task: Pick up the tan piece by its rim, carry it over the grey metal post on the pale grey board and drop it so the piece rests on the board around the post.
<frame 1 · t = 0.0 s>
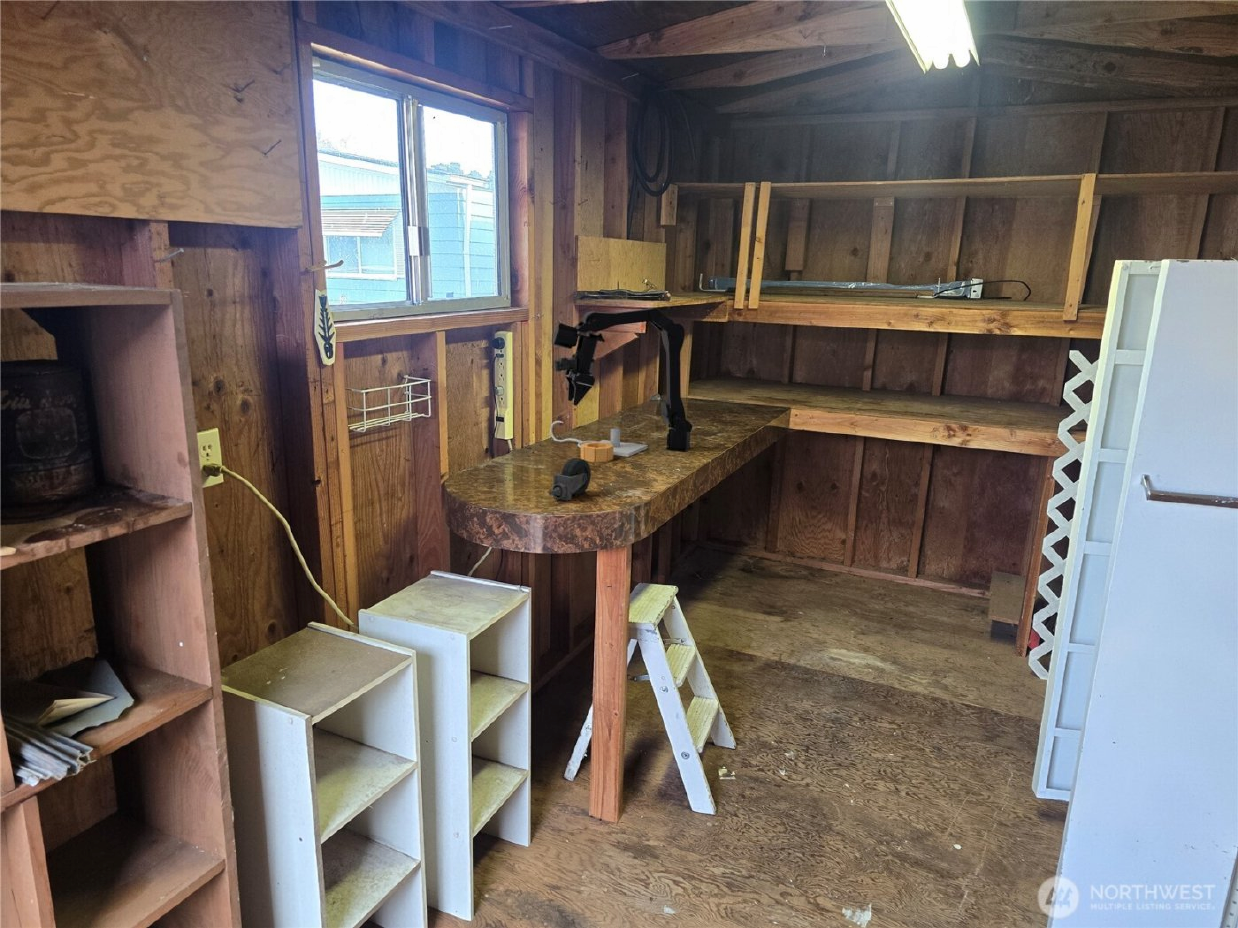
hand: (572, 403, 235), 15 cm above the table, tool pointing down, fingers open, 9 cm apart
hook: (573, 445, 252), on the table
post board: (615, 449, 244), on the table
caster wheel: (568, 497, 190), on the table
tan piece: (596, 458, 231), on the table
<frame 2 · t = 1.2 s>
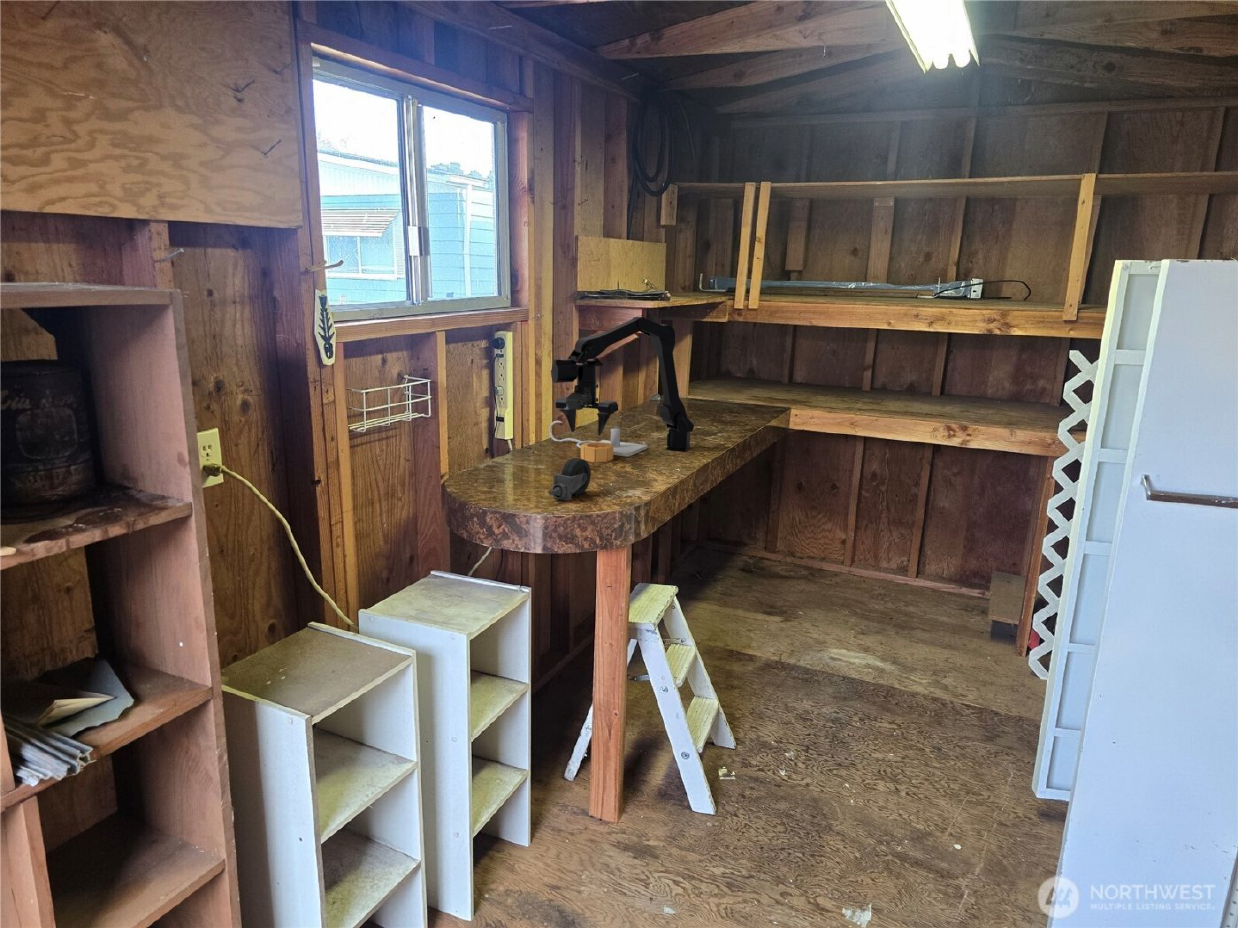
hand: (586, 433, 231), 7 cm above the table, tool pointing down, fingers open, 9 cm apart
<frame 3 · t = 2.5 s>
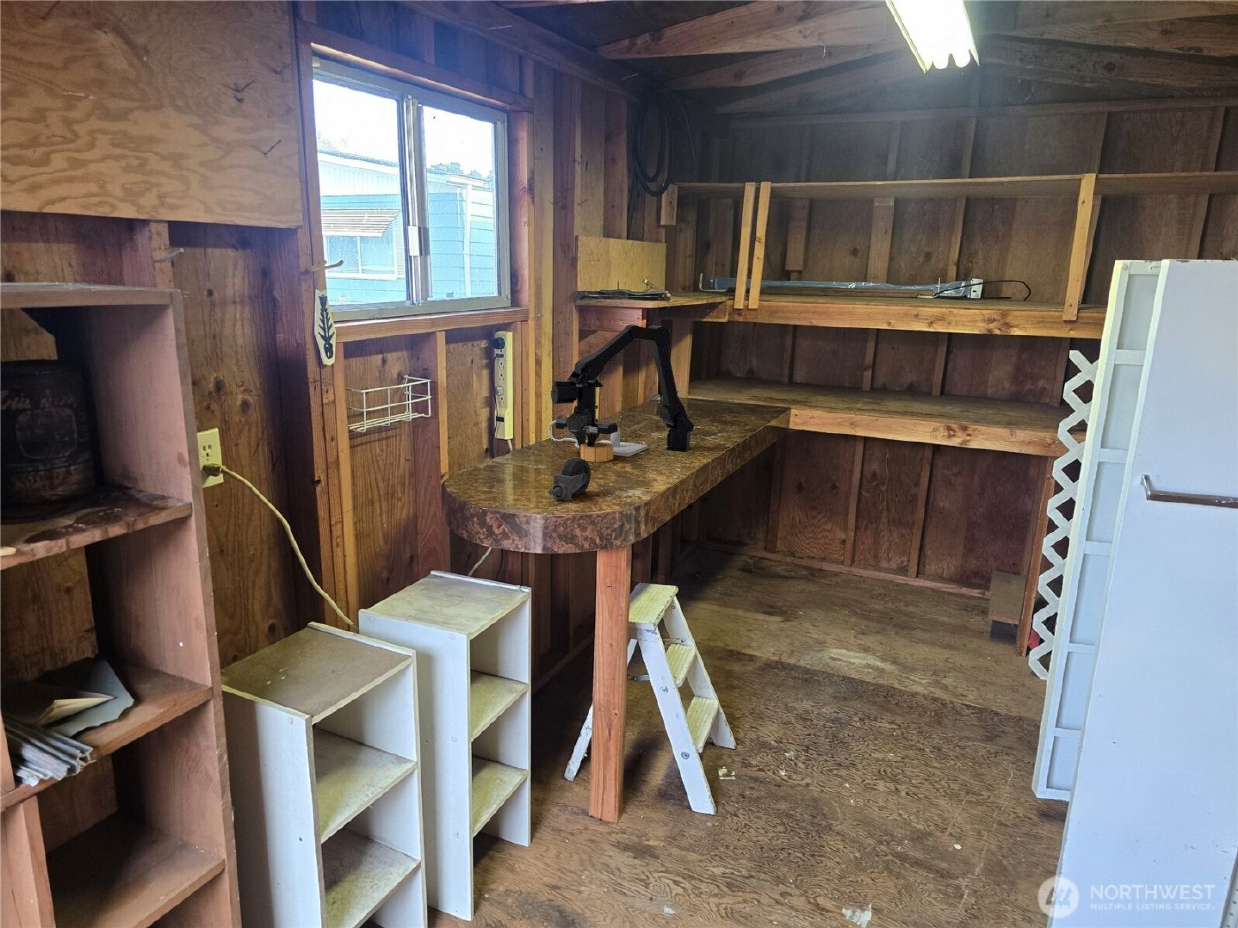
hand: (585, 453, 233), 1 cm above the table, tool pointing down, fingers closed on tan piece, 2 cm apart
tan piece: (596, 458, 231), on the table, touching gripper
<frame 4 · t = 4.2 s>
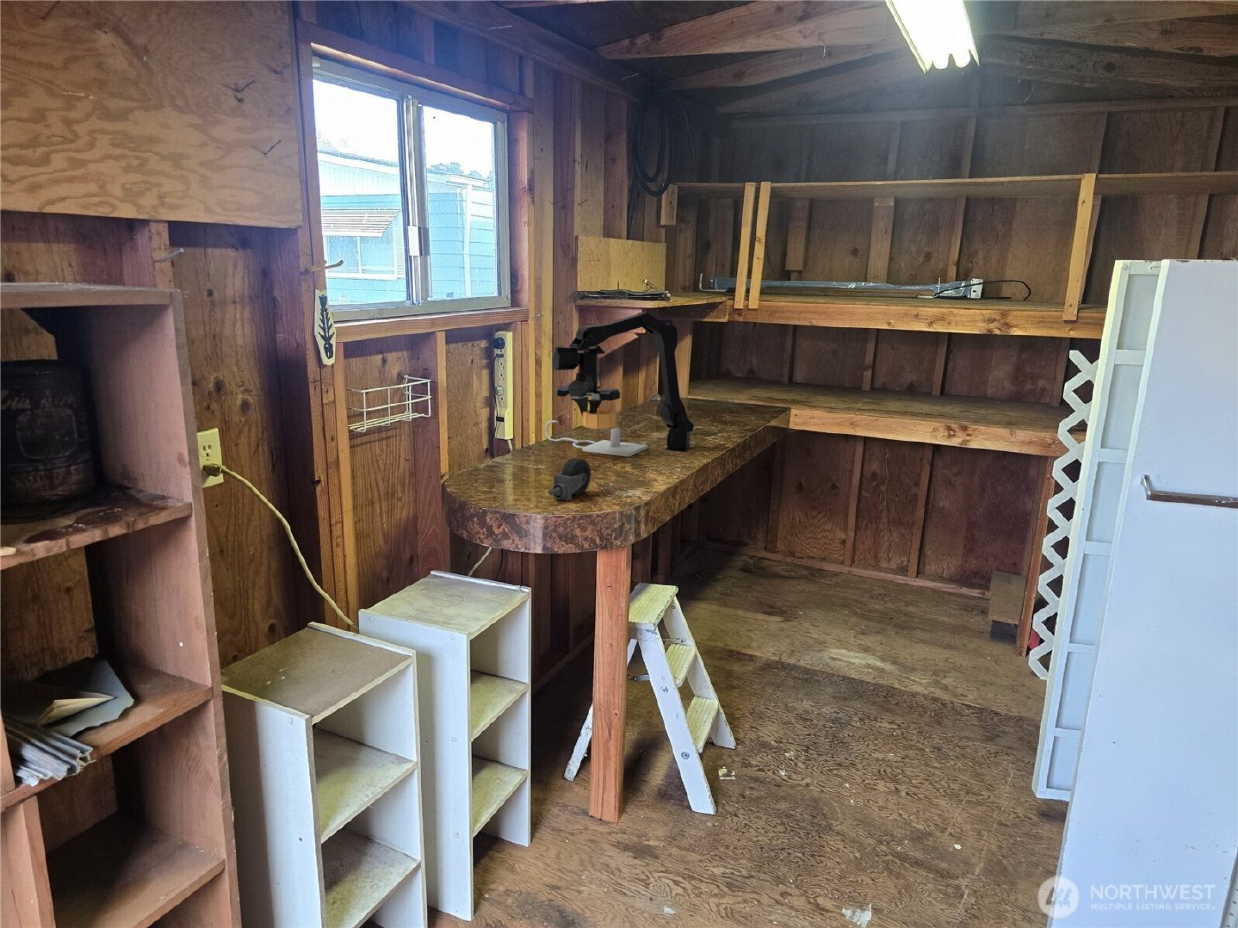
hand: (588, 421, 231), 11 cm above the table, tool pointing down, fingers closed on tan piece
tan piece: (599, 425, 230), point 10 cm above the table, touching gripper
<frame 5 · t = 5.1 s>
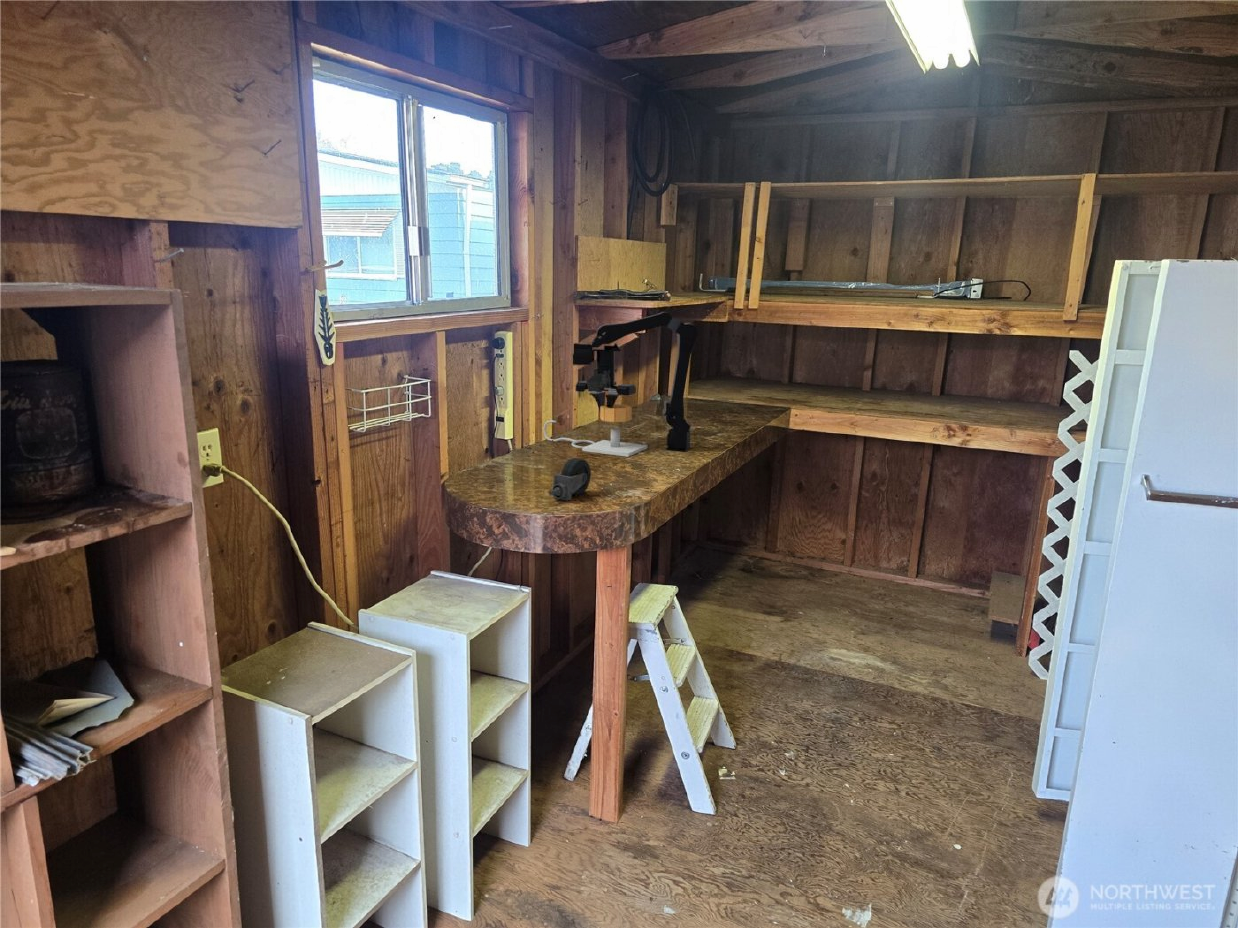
hand: (605, 415, 243), 11 cm above the table, tool pointing down, fingers closed on tan piece
tan piece: (615, 419, 242), point 10 cm above the table, touching gripper
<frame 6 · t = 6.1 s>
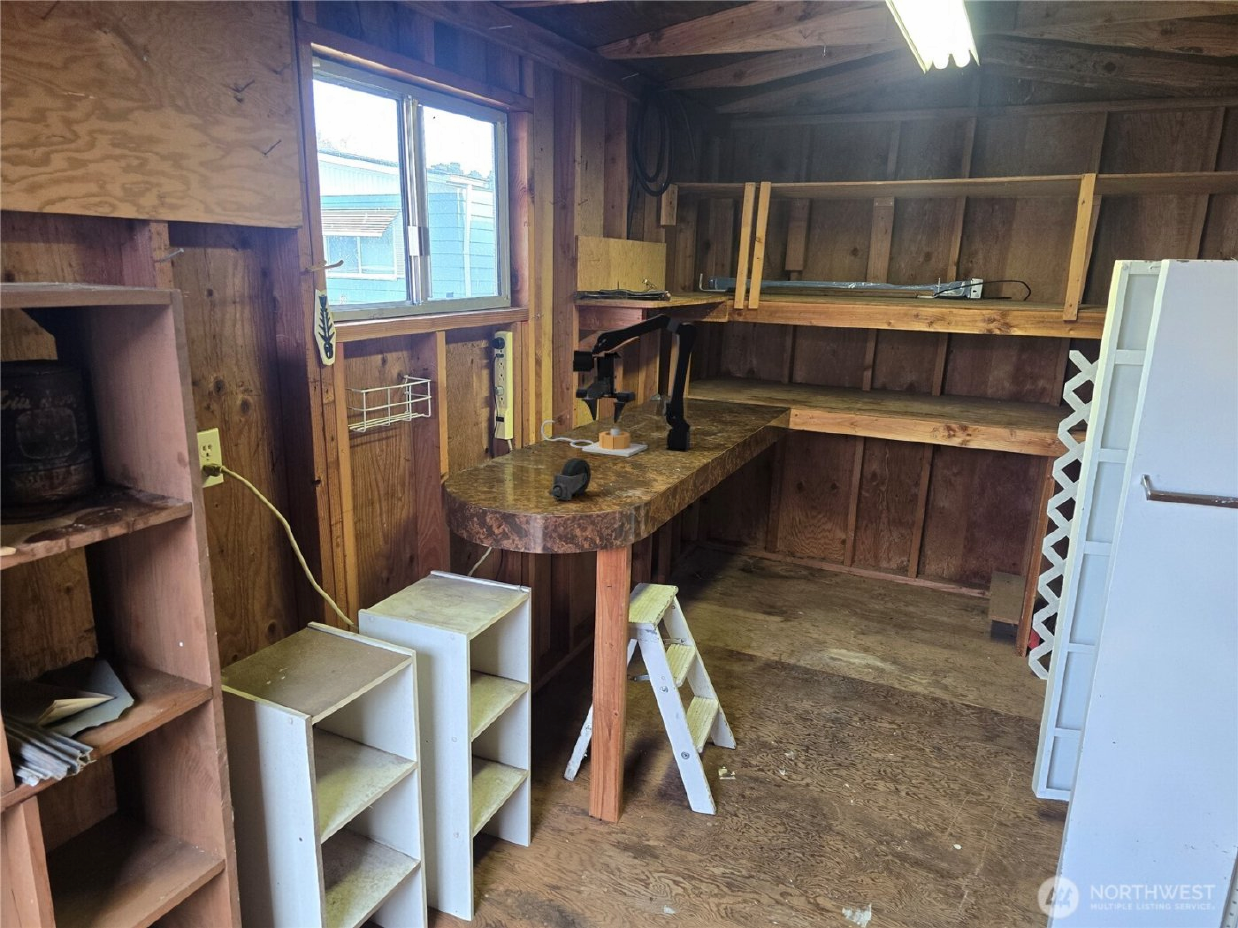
hand: (605, 421, 244), 9 cm above the table, tool pointing down, fingers open, 7 cm apart
tan piece: (614, 446, 244), point 1 cm above the table, touching post board
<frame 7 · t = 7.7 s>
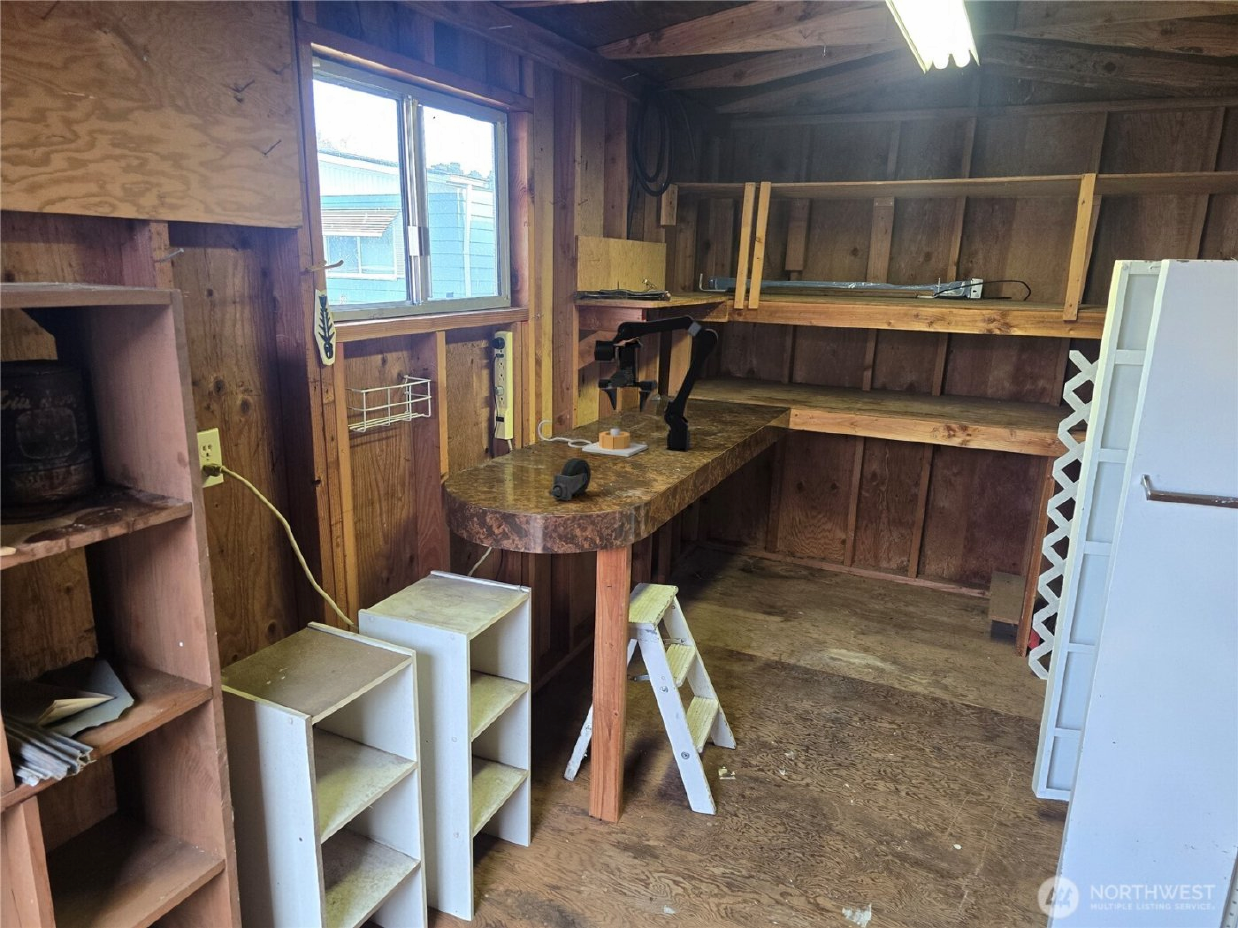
hand: (627, 411, 246), 12 cm above the table, tool pointing down, fingers open, 9 cm apart
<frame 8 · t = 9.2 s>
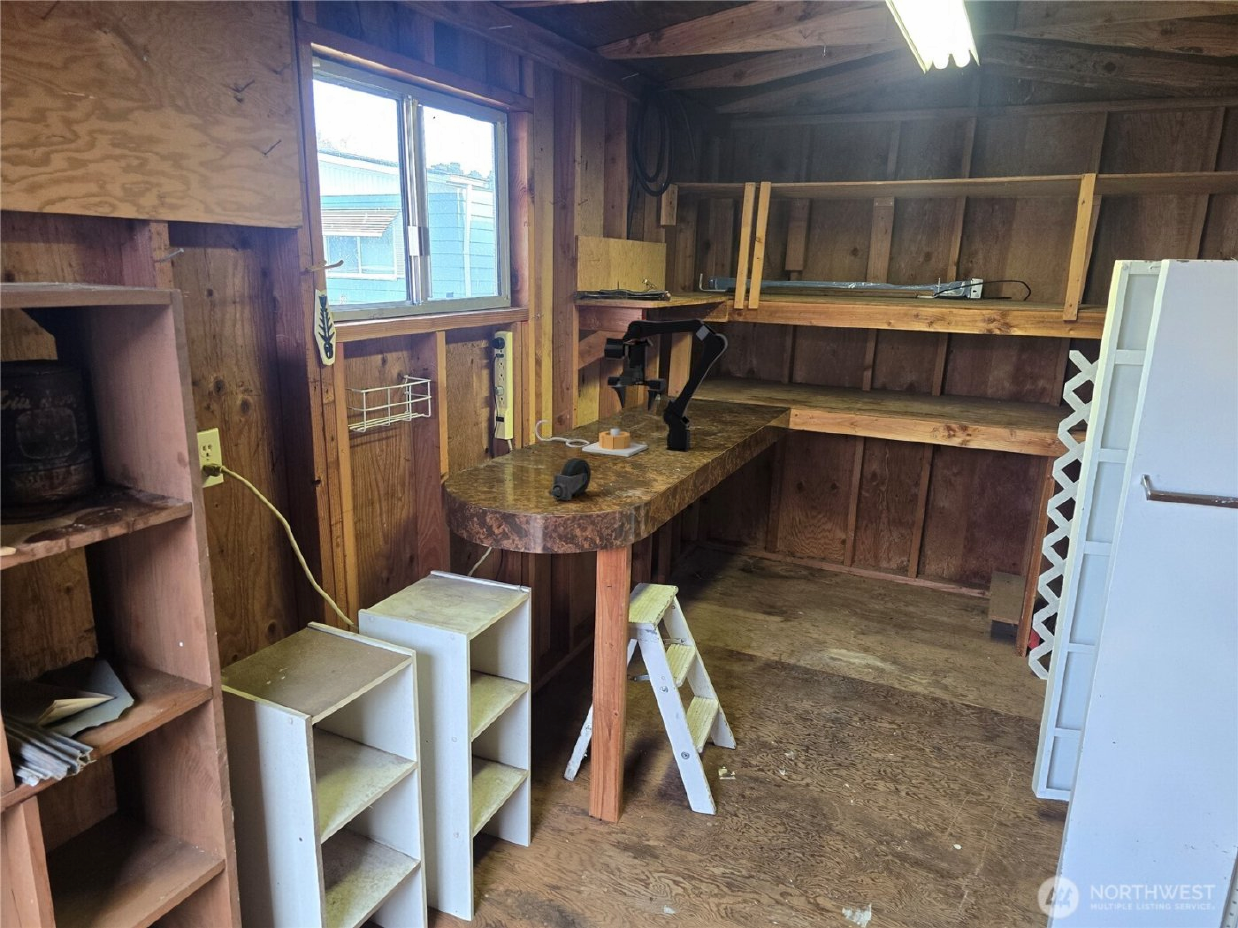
hand: (636, 409, 247), 12 cm above the table, tool pointing down, fingers open, 9 cm apart
at the end: tan piece 0.4 cm from the post board (horizontally); tan piece point 1.0 cm above the table; the gripper is holding nothing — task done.
